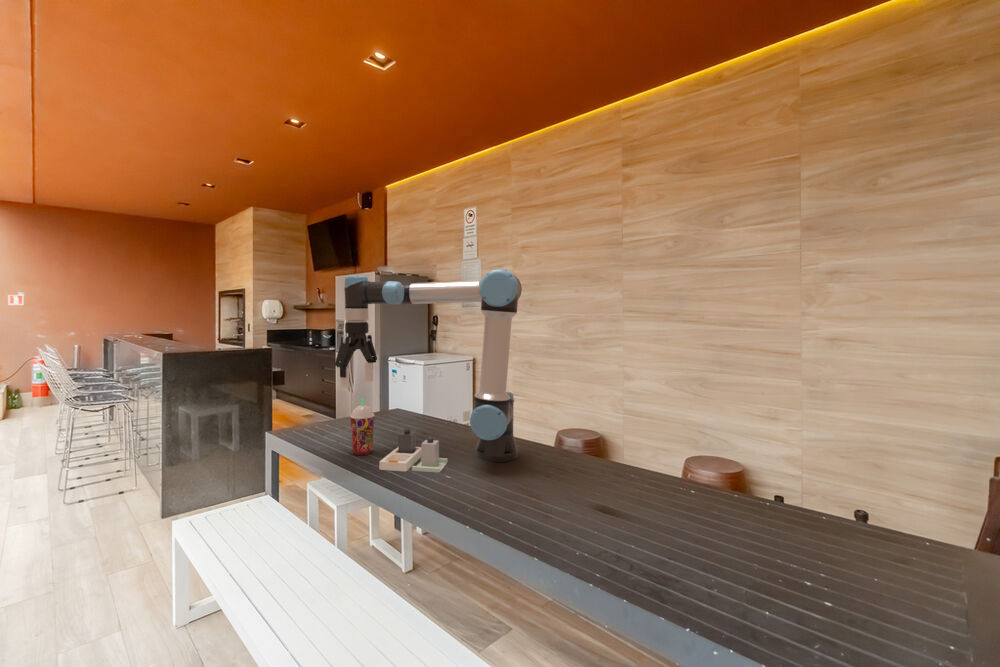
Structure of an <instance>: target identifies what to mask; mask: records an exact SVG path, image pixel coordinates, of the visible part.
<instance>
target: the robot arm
mask: <svg viewBox="0 0 1000 667" xmlns="http://www.w3.org/2000/svg"><path fill="white" fill-rule="evenodd" d="M521 284H522V283H521V281H520V279H519V278H518V277H517V276H516V275H515V274H513V273H512V272H511V271H509V270H507V269H502V268H497V269H493V270H490V271H488V272H487V273H486V274H485V275H484V276H483V277H482V278H481V279H479V280H478V279H477V280H476V279H475V280H457V281H455V280H454V281H437V282H433V281H432V282H415V283H413V282H412V283H409V282H408V283H401V282H400V281H395V280H394V281H392V280H388V281H384V280H383V281H369V278H368V276H367V275H357V274H355V275H354V274H353V275H352V274H351V275H347V276H345V278H344V287H343V290H344V310H345V311H344V320H345V321H346V322H345V324H344V330H345V334H347V336H341V338H340V345H339V349H338V351H337V356H336V358H335V362H334V366H335V367H336V368H339V378H340V388H346V389H347V388H350V368H349V364H350V361H351V359H352V357H353V355H354V353H355V351H357V350H359V351H360V352H361V354H362V356H363V357H364V359H365V361H366V362H365V363H364V368H365V369H364V372H365V373H364V374H365V375H364V377H365V378H364V379H365V380H364V381H365V382H374V363H377V361H378V357H377V356H378V355H377V353H376V352H377V351H376V350H375V346H374V343H373V338H372V334H368V333H369V323H368V321H369V320H370V318H369V305H397V306H405V305H422V304H423V305H424V304H455V303H456V304H458V303H481V306H480V312H481V313H482V314H483V316H484V325H483V326H484V327H483V330H484V331H483V338H482V340H483V341H482V342H483V343H482V351H481V353H482V354H481V367H480V380H479V390H478V391H477V392H475V393H474V396H473V397H474V398H473V409H472V412H471V414H470V417H469V425H470V429H471V431H472V432H473V433H474V435H475V436H476V437H478V441H477V443H476V447H475V457H476V458H478V459H480V460H481V461H486V462H487V461H488V462H494V463H505V462H510V461H513V460H515V459H517V458H518V456H519V449H518V445H517V442H516V439H515V436H514V403H515V399H514V398H515V397H514V394H513V392H511V391H507V386H508V385H507V384H508V370H509V357H510V345H511V333H512V332H511V331H512V319H513V318H514V317H515V316H516V315H517V314H518V303H519V299H520V297H521V296H522V295H521V294H522V290H523V289H522V285H521Z"/></svg>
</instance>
